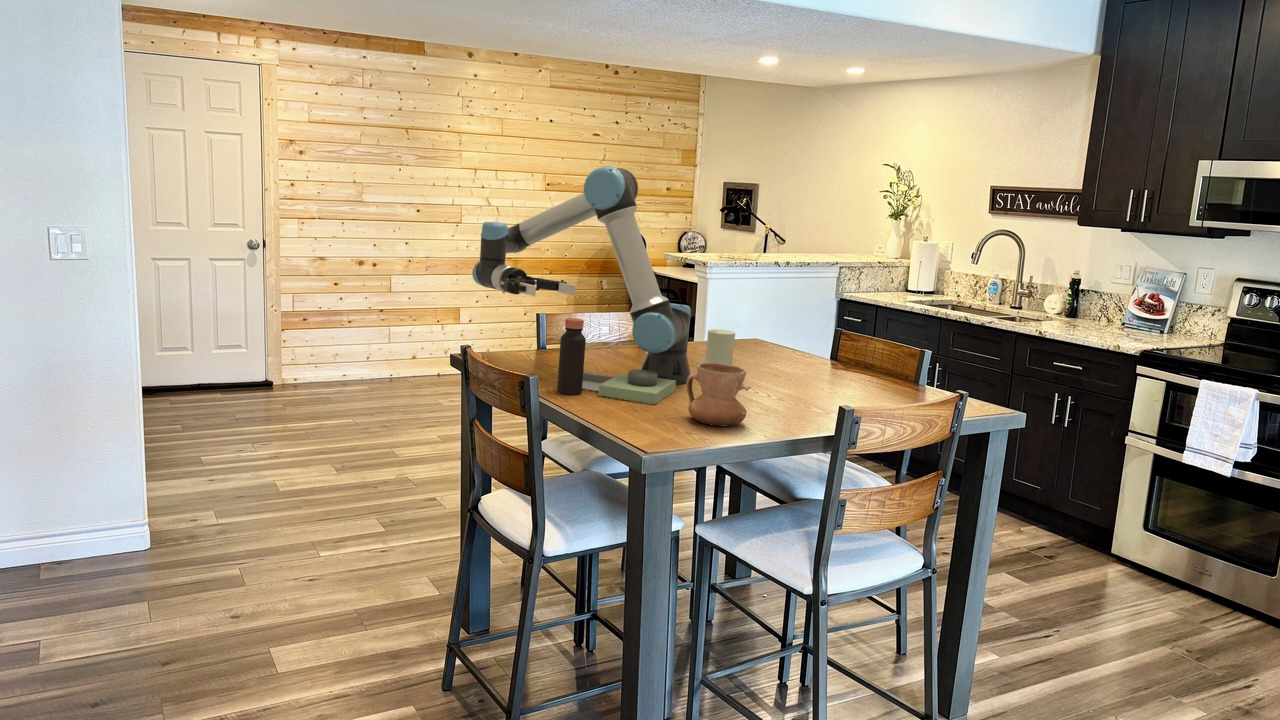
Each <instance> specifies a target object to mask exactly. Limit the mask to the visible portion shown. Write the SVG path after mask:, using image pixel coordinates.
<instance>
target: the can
mask: <svg viewBox="0 0 1280 720" xmlns="http://www.w3.org/2000/svg"><path fill="white" fill-rule="evenodd" d="M706 341H707V342H706V350H705V359H704V363H719V364H725V365H732V366H733V359H734V358H733V357H734V356H733V355H734V349H735V341H736V332H735V331H732V330H728V329H727V330H726V329H718V328H716V329H714V328H712V329H711V328H710V329H708V330H707V340H706Z"/></svg>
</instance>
